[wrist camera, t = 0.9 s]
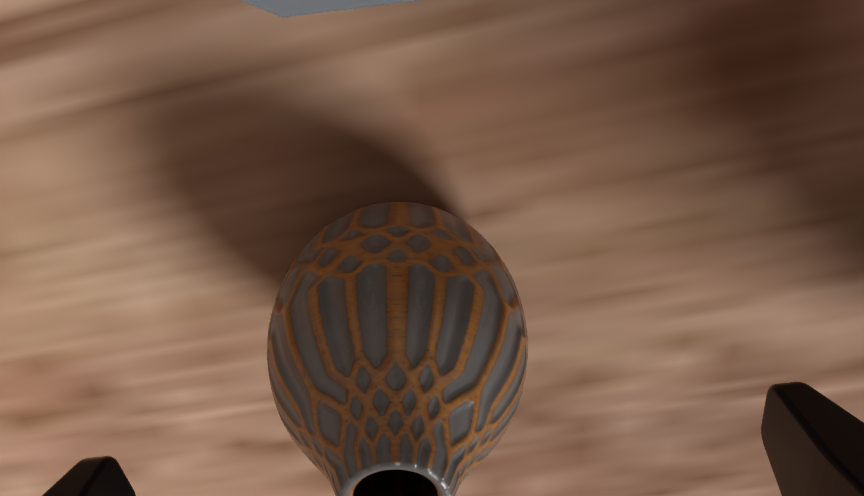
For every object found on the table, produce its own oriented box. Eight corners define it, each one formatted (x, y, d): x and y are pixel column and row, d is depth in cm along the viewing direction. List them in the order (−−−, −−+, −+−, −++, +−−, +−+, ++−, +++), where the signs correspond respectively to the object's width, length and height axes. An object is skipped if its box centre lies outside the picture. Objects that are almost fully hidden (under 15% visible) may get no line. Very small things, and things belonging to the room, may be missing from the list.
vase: (304, 351, 24) (257, 600, 17) (273, 169, 20) (196, 388, 13) (506, 344, 24) (548, 588, 17) (514, 161, 20) (573, 373, 13)
